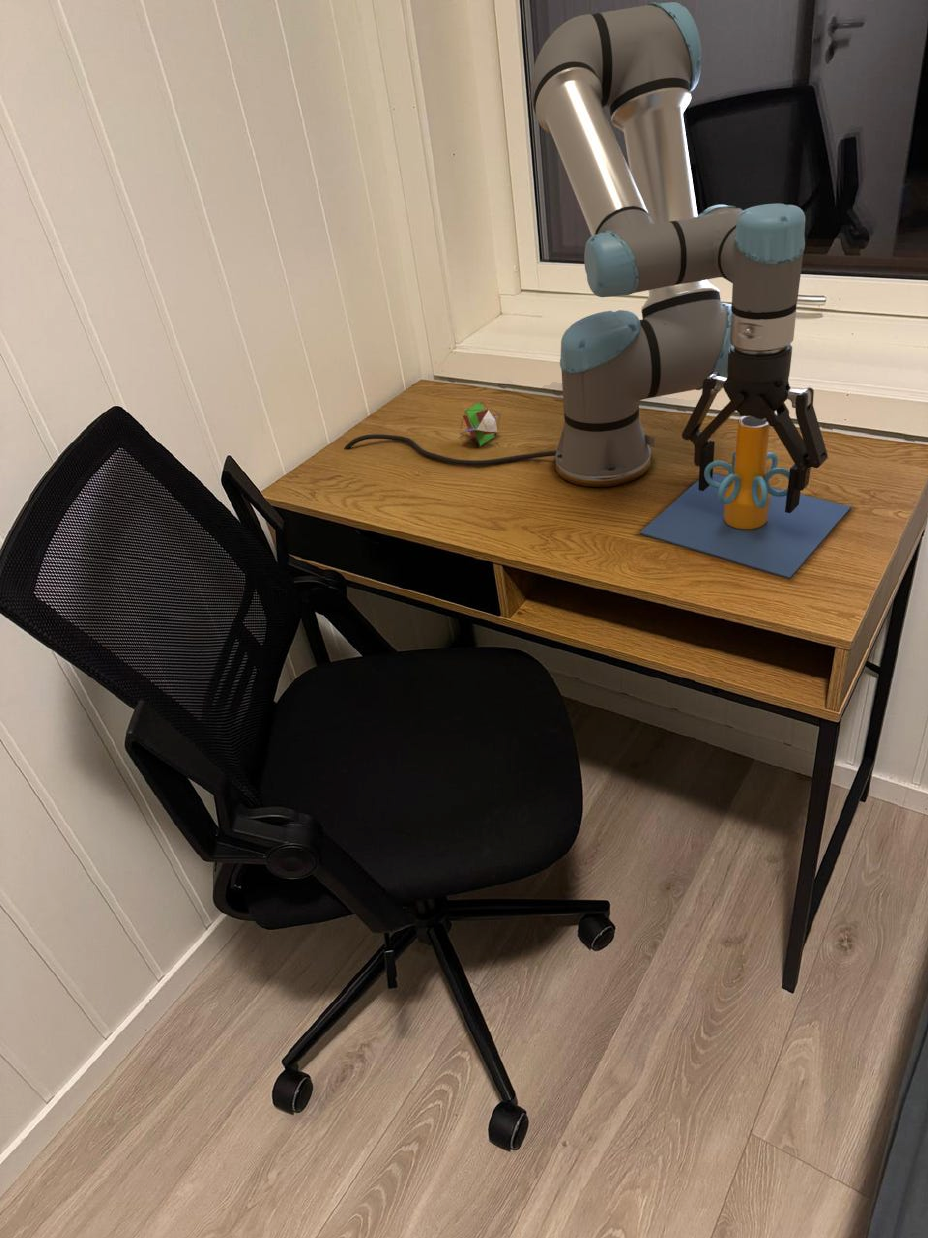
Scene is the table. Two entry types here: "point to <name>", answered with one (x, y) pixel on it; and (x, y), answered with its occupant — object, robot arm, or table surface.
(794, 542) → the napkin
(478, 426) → the geometric puzzle
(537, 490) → the table surface
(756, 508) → the cylinder
